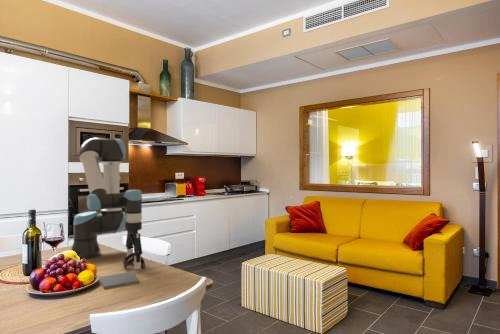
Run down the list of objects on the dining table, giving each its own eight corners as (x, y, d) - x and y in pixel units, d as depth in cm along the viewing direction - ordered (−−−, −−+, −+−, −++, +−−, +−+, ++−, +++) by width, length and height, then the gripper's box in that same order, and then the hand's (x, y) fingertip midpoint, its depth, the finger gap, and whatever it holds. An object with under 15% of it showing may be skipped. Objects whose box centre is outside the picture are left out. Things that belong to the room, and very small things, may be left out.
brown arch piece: (145, 271, 164) (136, 257, 162) (127, 280, 164) (118, 266, 162) (149, 258, 176) (141, 245, 173) (132, 266, 176) (124, 253, 173)
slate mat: (97, 279, 150) (97, 277, 150) (130, 273, 158) (130, 271, 158) (104, 289, 139) (104, 286, 139) (139, 282, 147) (139, 280, 147)
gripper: (119, 219, 177) (119, 260, 177) (132, 226, 156) (132, 273, 156) (134, 217, 181) (134, 258, 181) (149, 224, 160) (149, 270, 160)
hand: (133, 265), depth 169 cm, fingers open, 13 cm apart
